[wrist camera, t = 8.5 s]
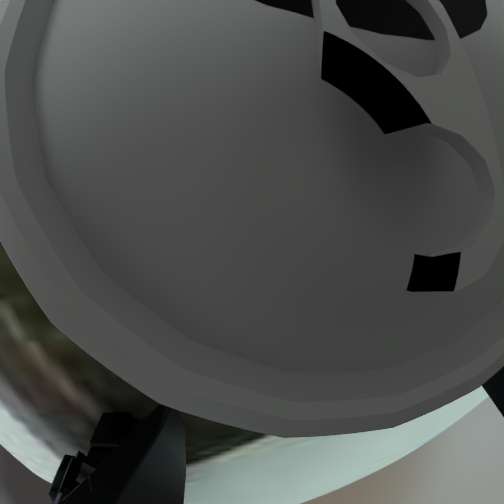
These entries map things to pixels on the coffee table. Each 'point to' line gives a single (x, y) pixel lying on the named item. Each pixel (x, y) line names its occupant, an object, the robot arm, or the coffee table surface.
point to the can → (263, 199)
